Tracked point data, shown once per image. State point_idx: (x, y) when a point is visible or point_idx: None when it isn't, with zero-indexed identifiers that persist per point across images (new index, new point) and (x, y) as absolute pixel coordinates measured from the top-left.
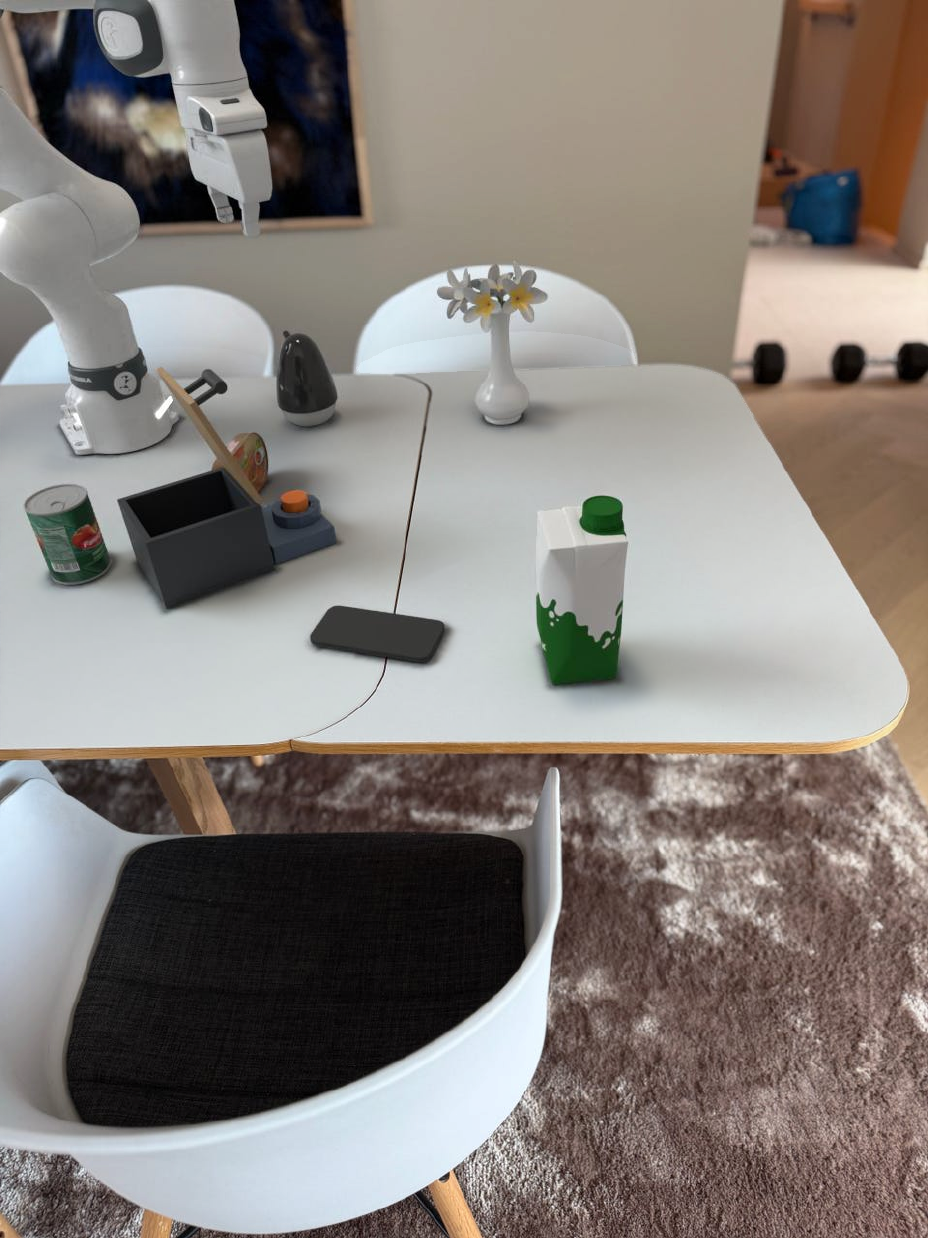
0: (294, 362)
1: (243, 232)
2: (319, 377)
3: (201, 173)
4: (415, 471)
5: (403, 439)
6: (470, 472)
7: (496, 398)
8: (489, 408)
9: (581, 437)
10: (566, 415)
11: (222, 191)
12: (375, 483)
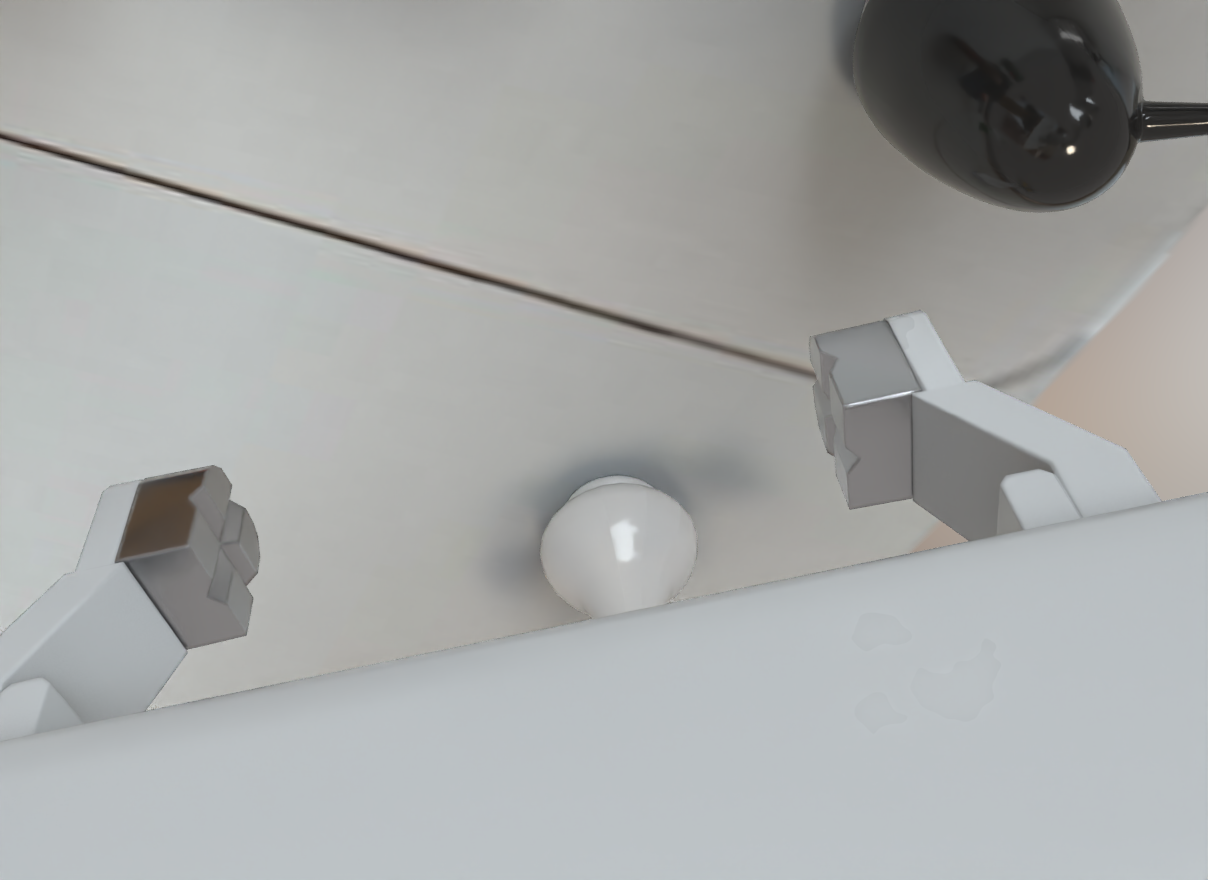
0: (975, 85)
1: (181, 476)
2: (908, 141)
3: (1121, 617)
4: (383, 242)
5: (615, 260)
6: (322, 370)
7: (565, 549)
8: (566, 514)
9: (417, 616)
10: (549, 620)
11: (315, 684)
12: (345, 114)
